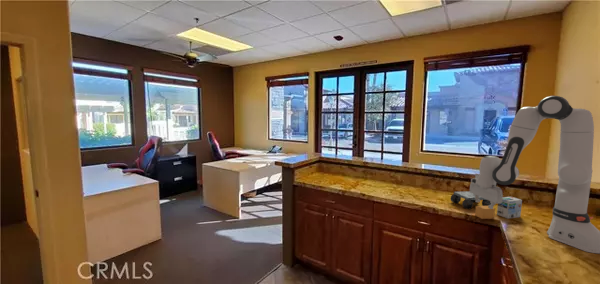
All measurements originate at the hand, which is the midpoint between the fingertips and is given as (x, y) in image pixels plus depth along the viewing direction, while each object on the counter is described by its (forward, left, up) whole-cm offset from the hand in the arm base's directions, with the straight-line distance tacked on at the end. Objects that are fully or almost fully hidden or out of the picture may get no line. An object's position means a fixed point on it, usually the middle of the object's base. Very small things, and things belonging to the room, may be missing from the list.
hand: (483, 205), depth 155 cm
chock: (-1, 0, -7) cm, 7 cm away
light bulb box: (-1, -16, -7) cm, 18 cm away
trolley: (+18, -7, -7) cm, 21 cm away
